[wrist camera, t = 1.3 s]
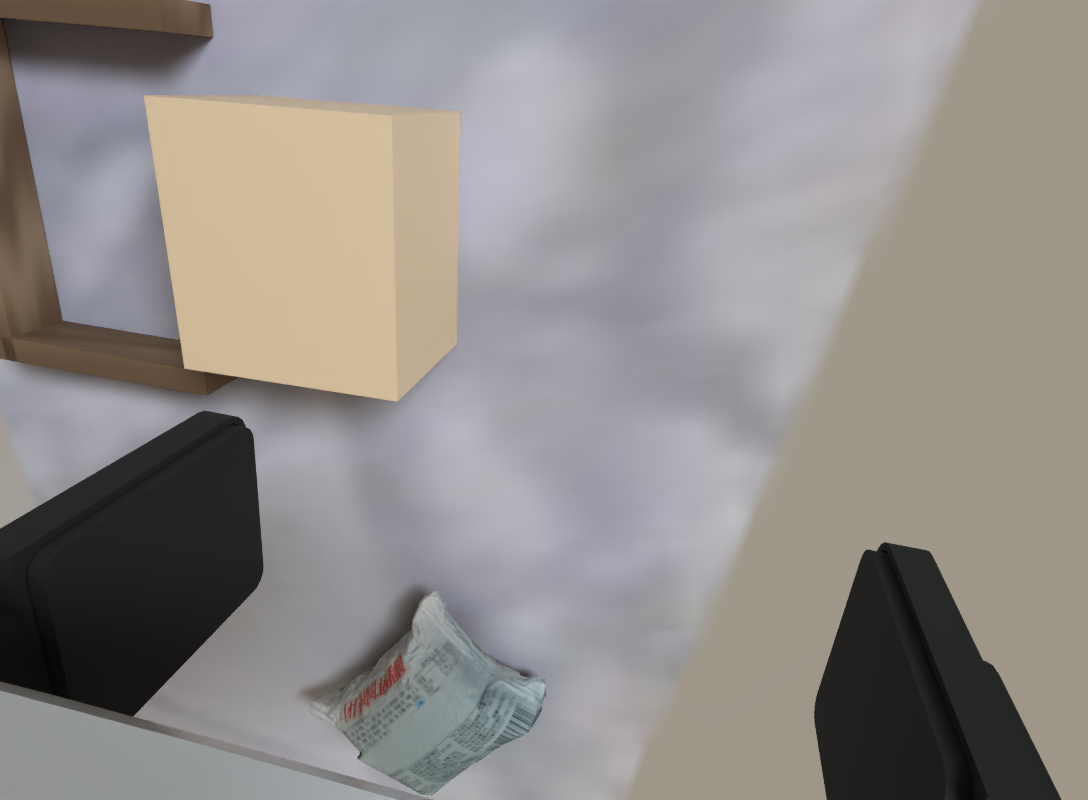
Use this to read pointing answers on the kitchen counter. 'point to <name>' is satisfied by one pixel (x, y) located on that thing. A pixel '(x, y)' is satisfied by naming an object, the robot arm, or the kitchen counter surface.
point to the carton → (310, 237)
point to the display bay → (19, 238)
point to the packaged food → (432, 703)
